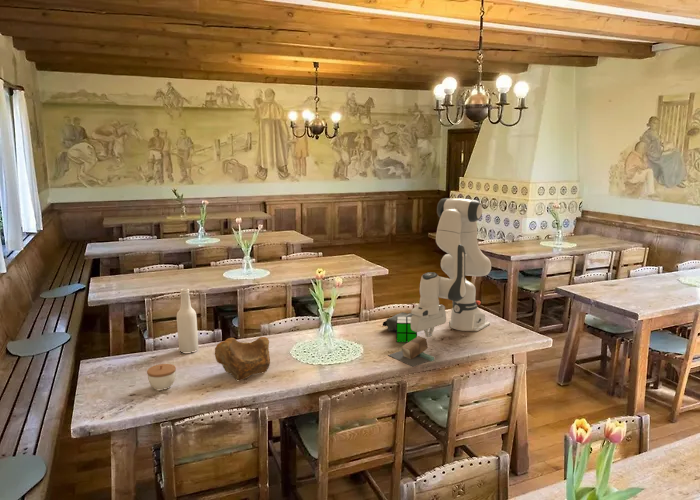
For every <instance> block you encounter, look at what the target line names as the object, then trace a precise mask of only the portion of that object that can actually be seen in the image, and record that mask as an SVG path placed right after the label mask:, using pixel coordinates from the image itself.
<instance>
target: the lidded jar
mask: <svg viewBox="0 0 700 500" xmlns="http://www.w3.org/2000/svg"><path fill="white" fill-rule="evenodd" d="M176 369H177V367H176V365H174V364H171V363H160V364H156V365H153V366H151V367H149V368H148V369H147V371H146V375H147V379H148V383H149V385H150V386H151V387H152V388H154V390H155V389H164V388H168V387H170V386H171V387H172V385H173V384H174V383H175V380H176V375H177V374H176V373H177V372H176ZM171 387H170V388H171Z"/></svg>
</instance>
